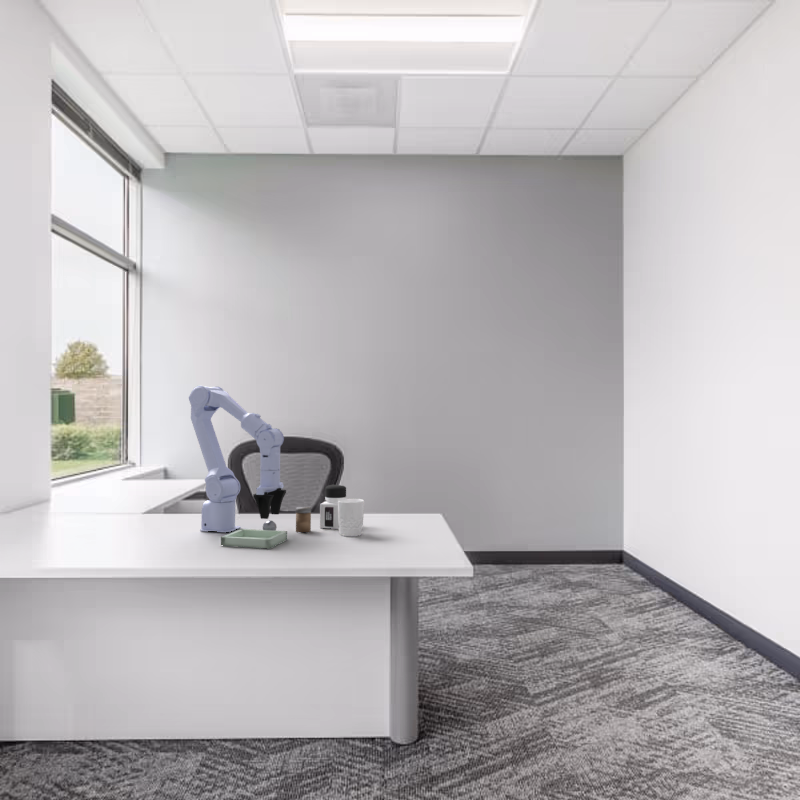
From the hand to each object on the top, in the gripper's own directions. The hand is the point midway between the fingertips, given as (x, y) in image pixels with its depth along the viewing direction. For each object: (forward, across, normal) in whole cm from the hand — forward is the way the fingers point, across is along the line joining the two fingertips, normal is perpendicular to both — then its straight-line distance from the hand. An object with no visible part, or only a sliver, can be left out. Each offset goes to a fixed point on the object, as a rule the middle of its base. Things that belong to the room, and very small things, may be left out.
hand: (270, 516), depth 187 cm
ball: (+5, 0, 0) cm, 5 cm away
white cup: (+6, +6, -23) cm, 24 cm away
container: (+6, +16, -15) cm, 23 cm away
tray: (+5, -12, -1) cm, 13 cm away
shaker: (+5, +6, -8) cm, 12 cm away
